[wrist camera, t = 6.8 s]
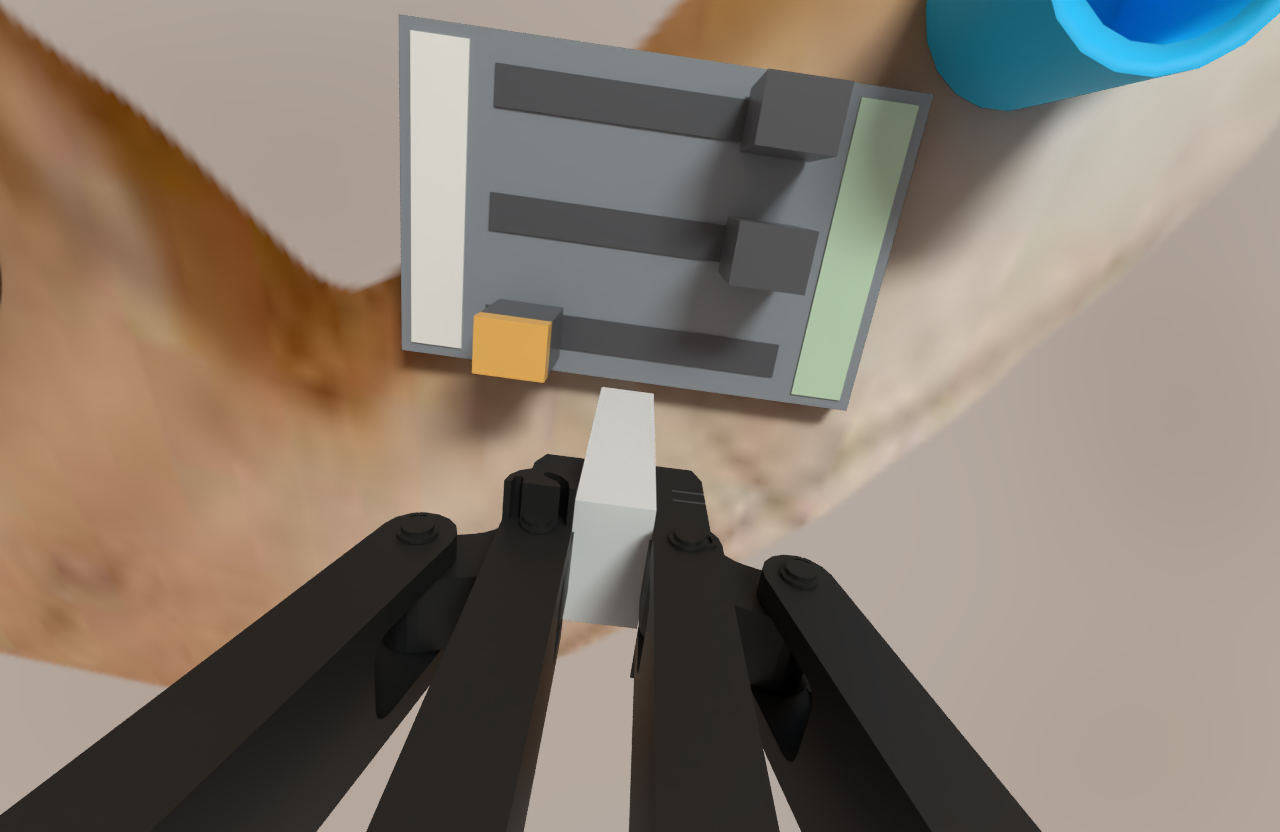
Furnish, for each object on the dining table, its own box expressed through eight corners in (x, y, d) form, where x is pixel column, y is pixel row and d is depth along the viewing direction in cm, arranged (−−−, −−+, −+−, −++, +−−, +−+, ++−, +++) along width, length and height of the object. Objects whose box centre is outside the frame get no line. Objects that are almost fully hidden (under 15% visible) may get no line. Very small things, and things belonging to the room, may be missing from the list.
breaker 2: (718, 271, 27) (728, 284, 23) (728, 216, 26) (740, 220, 22) (783, 280, 27) (804, 295, 23) (795, 225, 26) (819, 231, 22)
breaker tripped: (497, 348, 28) (471, 373, 24) (499, 298, 27) (473, 316, 24) (559, 357, 28) (543, 382, 25) (563, 307, 28) (548, 326, 24)
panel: (413, 342, 30) (401, 350, 29) (413, 24, 25) (397, 13, 24) (837, 400, 31) (846, 411, 29) (918, 99, 26) (934, 93, 24)
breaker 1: (739, 151, 25) (754, 144, 21) (750, 88, 24) (768, 68, 20) (809, 161, 25) (837, 156, 21) (823, 98, 24) (854, 81, 20)
